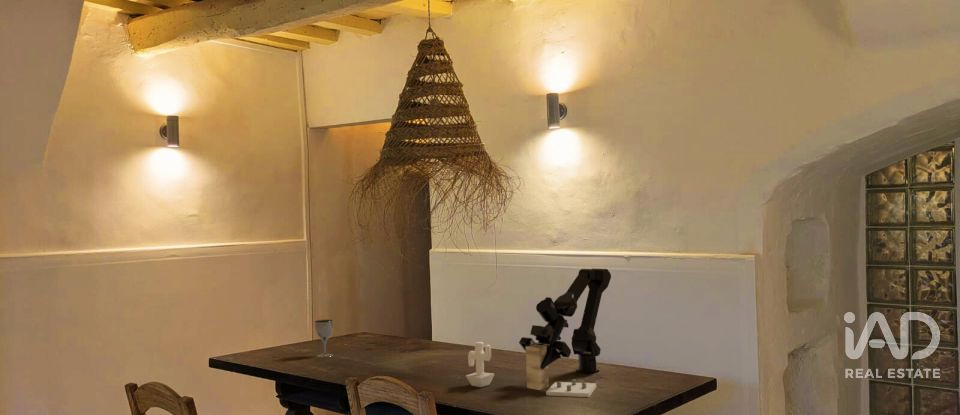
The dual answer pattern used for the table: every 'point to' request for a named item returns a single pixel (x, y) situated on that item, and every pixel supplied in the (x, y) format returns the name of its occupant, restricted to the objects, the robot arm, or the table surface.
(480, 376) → the figurine
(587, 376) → the table surface
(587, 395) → the stub base plate
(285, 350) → the table surface
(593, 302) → the robot arm
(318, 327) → the wine glass
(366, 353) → the table surface
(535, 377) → the maple block
